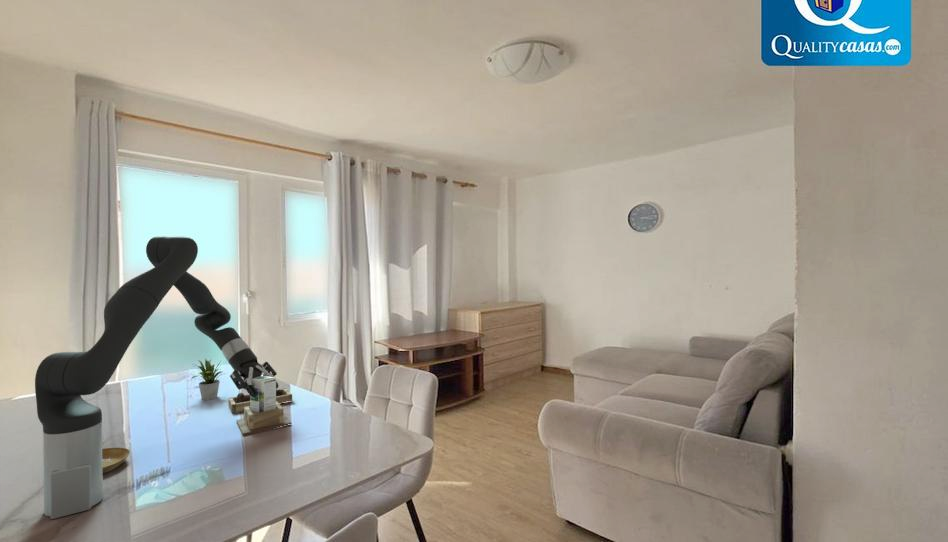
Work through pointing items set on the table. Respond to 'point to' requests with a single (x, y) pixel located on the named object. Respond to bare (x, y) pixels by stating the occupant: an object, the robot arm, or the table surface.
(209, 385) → the house plant
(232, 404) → the bolt rack
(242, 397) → the bolt
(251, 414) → the socket
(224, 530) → the table surface
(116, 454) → the plant saucer
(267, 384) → the syrup box
